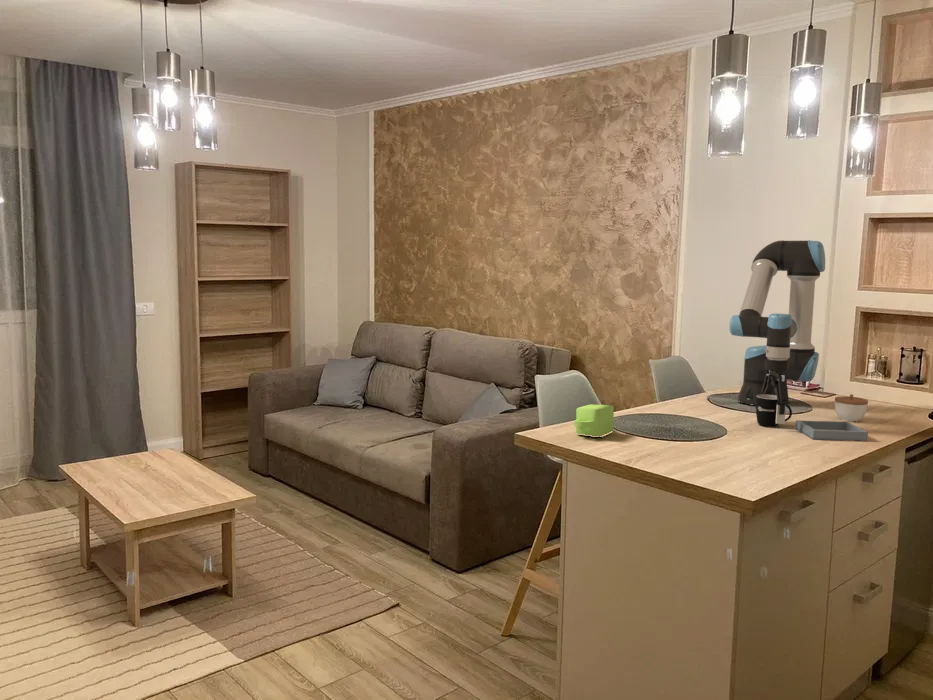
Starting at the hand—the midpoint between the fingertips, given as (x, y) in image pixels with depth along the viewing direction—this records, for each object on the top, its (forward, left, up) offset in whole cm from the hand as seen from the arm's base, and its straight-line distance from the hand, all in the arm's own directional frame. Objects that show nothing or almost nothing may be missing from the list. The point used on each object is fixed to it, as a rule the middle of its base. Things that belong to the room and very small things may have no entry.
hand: (773, 419), depth 259 cm
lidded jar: (-14, +32, -3) cm, 35 cm away
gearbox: (+19, -64, -3) cm, 67 cm away
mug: (0, 0, -3) cm, 3 cm away
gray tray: (+11, +15, -2) cm, 19 cm away
